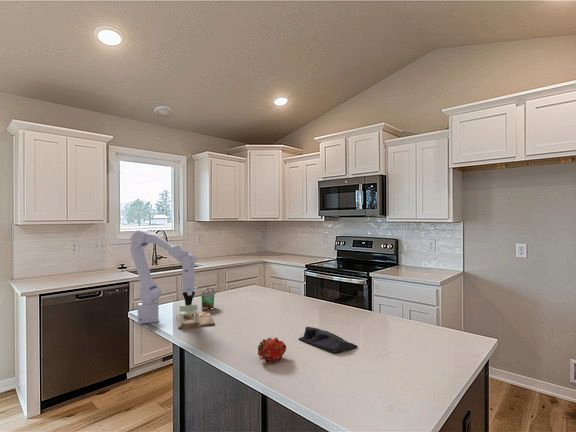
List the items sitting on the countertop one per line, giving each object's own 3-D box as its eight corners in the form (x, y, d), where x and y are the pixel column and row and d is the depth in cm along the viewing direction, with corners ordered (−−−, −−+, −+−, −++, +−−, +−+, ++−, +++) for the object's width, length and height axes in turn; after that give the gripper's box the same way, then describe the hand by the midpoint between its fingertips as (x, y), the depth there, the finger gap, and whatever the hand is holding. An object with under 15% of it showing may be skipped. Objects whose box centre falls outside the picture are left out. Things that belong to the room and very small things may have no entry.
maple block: (183, 320, 160) (183, 310, 160) (183, 318, 164) (183, 307, 164) (192, 319, 162) (192, 309, 162) (191, 317, 165) (191, 307, 165)
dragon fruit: (254, 368, 112) (283, 364, 119) (266, 360, 107) (295, 357, 114) (249, 343, 117) (278, 341, 124) (261, 334, 112) (290, 332, 119)
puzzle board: (178, 329, 147) (178, 326, 147) (176, 316, 166) (176, 314, 166) (214, 325, 153) (214, 322, 153) (208, 313, 171) (208, 311, 172)
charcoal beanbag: (331, 358, 118) (331, 345, 118) (295, 339, 136) (295, 328, 136) (361, 348, 126) (361, 336, 126) (324, 332, 145) (324, 321, 145)
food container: (212, 311, 175) (212, 292, 175) (201, 311, 175) (201, 292, 175) (218, 305, 188) (218, 287, 188) (207, 305, 188) (207, 287, 188)
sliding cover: (180, 324, 149) (180, 309, 149) (179, 320, 156) (179, 305, 156) (198, 322, 152) (198, 307, 152) (197, 318, 158) (197, 304, 159)
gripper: (198, 280, 153) (198, 310, 153) (195, 275, 166) (195, 302, 166) (182, 282, 150) (182, 311, 150) (180, 276, 164) (180, 304, 164)
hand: (188, 307), depth 158 cm, fingers closed
